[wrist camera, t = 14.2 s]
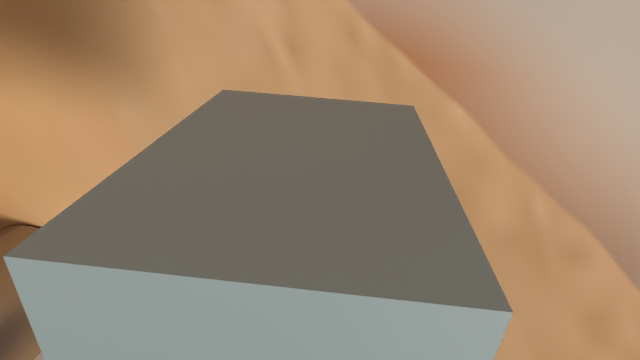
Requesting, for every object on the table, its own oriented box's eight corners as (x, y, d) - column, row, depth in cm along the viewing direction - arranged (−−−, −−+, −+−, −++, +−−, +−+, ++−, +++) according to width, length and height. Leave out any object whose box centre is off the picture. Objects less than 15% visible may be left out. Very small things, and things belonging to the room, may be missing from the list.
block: (235, 310, 14) (133, 580, 7) (223, 89, 10) (3, 255, 4) (373, 326, 13) (388, 618, 7) (413, 106, 10) (513, 312, 4)
